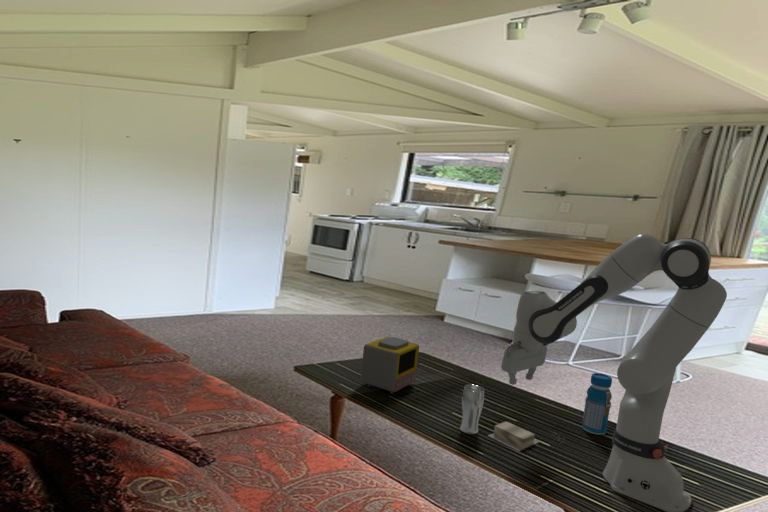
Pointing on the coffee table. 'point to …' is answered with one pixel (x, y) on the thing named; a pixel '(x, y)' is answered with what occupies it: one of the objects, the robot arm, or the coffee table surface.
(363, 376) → the alarm clock
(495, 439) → the grey mat
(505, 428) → the birch lid
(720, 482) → the coffee table surface
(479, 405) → the beer glass
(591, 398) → the beverage bottle
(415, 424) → the coffee table surface
